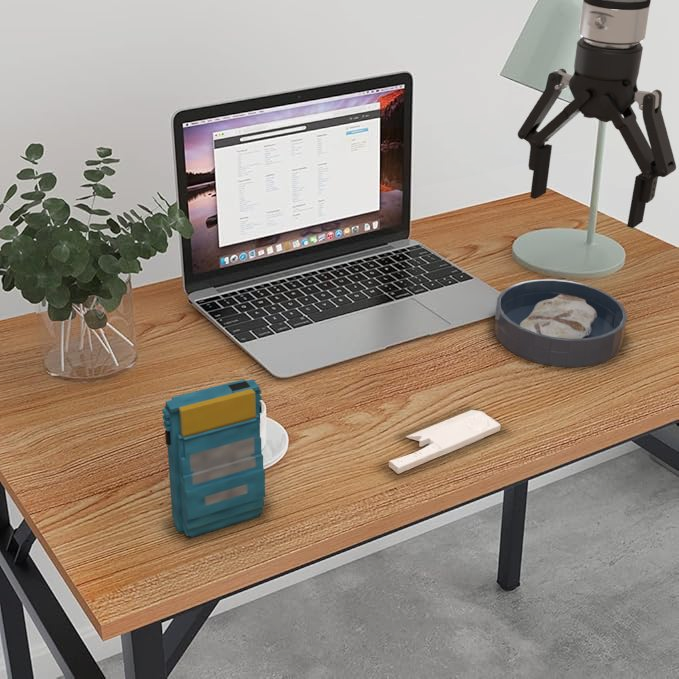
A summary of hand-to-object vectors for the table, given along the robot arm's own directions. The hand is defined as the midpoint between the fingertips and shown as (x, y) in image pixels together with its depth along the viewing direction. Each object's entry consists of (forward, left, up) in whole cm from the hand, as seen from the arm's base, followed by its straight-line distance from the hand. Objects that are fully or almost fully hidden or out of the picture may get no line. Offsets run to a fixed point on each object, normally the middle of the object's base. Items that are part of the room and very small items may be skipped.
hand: (585, 209), depth 134 cm
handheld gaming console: (+22, +54, -18) cm, 61 cm away
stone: (+1, 0, -18) cm, 18 cm away
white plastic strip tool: (+7, +31, -18) cm, 37 cm away
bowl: (+1, 0, -18) cm, 18 cm away
